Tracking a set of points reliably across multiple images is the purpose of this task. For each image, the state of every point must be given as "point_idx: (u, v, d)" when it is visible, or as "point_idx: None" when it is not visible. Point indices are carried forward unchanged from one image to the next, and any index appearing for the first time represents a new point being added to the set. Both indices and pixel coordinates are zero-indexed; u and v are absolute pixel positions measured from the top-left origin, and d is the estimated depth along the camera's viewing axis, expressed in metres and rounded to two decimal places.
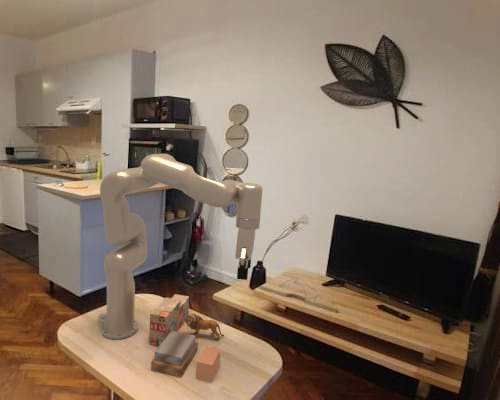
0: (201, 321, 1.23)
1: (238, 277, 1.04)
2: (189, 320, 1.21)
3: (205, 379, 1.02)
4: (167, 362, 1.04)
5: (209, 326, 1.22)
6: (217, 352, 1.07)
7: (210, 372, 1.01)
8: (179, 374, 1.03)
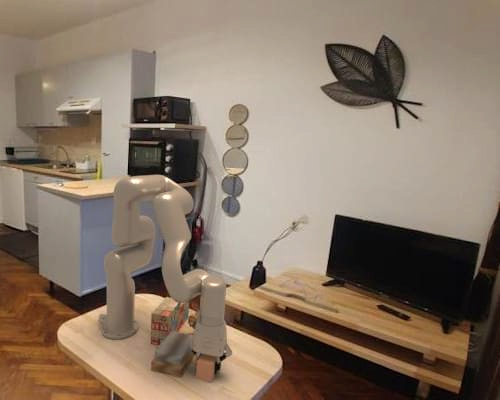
0: None
1: (216, 372, 1.04)
2: (192, 320, 1.21)
3: (205, 379, 1.02)
4: (167, 362, 1.04)
5: None
6: None
7: (210, 372, 1.01)
8: (179, 374, 1.03)
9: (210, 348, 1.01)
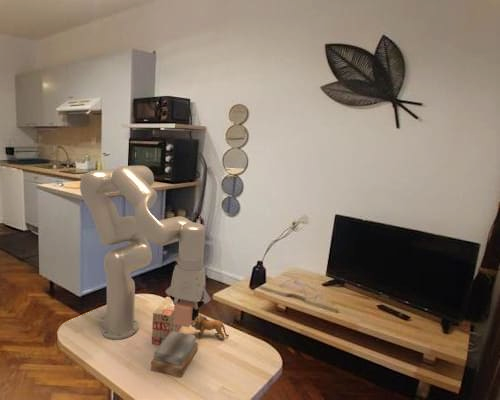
0: (206, 321, 1.23)
1: (194, 318, 1.05)
2: (194, 321, 1.21)
3: (182, 324, 1.02)
4: (167, 362, 1.04)
5: (214, 326, 1.23)
6: None
7: (187, 317, 1.02)
8: (179, 374, 1.03)
9: (188, 293, 1.01)
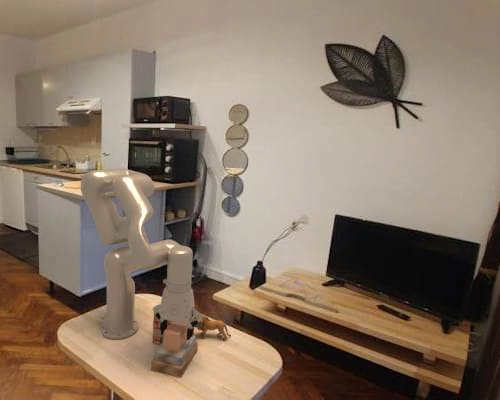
0: (208, 321, 1.23)
1: (189, 338, 1.07)
2: None
3: (172, 349, 1.05)
4: (167, 362, 1.04)
5: (216, 326, 1.23)
6: (185, 324, 1.10)
7: (176, 342, 1.04)
8: (179, 374, 1.03)
9: (177, 315, 1.04)
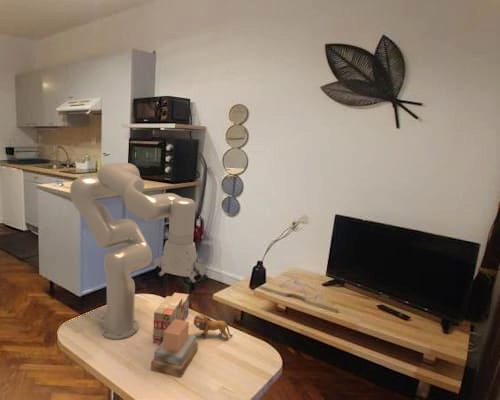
0: (210, 321, 1.23)
1: (191, 292, 1.05)
2: (198, 321, 1.21)
3: (172, 349, 1.05)
4: (167, 362, 1.04)
5: (218, 327, 1.23)
6: (185, 324, 1.10)
7: (176, 342, 1.04)
8: (179, 374, 1.03)
9: (178, 268, 1.02)
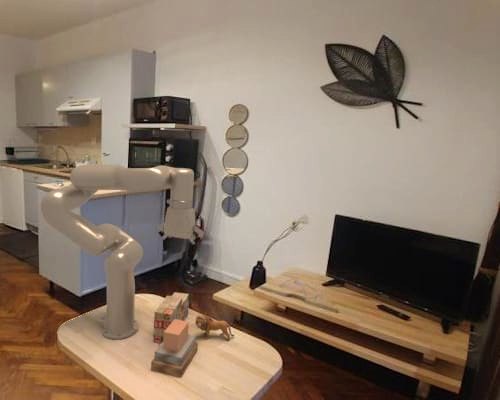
0: (211, 322, 1.23)
1: (191, 253, 1.16)
2: (200, 321, 1.21)
3: (172, 349, 1.05)
4: (167, 362, 1.04)
5: (219, 327, 1.23)
6: (185, 324, 1.10)
7: (176, 342, 1.04)
8: (179, 374, 1.03)
9: (179, 231, 1.14)
